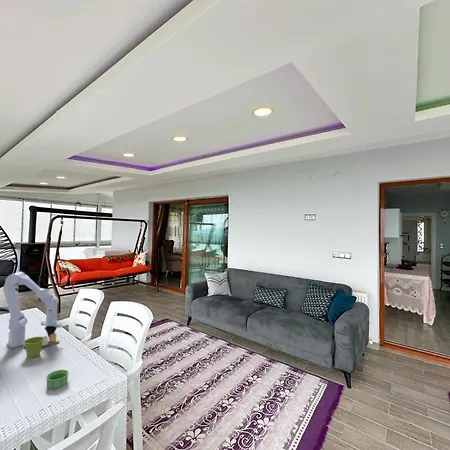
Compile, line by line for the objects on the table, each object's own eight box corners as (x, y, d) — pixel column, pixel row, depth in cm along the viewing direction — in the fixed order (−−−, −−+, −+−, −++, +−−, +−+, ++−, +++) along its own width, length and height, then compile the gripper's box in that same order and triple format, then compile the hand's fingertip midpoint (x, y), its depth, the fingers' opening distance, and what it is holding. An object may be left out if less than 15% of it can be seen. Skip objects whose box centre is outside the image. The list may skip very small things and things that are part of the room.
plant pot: (32, 360, 143) (33, 344, 143) (18, 358, 145) (19, 342, 145) (47, 352, 152) (48, 337, 152) (34, 350, 154) (34, 335, 154)
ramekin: (57, 391, 117) (58, 381, 117) (40, 388, 119) (41, 378, 119) (72, 379, 126) (73, 370, 126) (56, 377, 128) (56, 368, 128)
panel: (23, 347, 158) (23, 344, 158) (51, 338, 171) (51, 336, 171) (30, 352, 152) (30, 348, 152) (59, 342, 165) (59, 339, 165)
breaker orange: (49, 341, 164) (50, 333, 164) (54, 339, 166) (54, 332, 167) (51, 342, 163) (52, 334, 163) (56, 340, 165) (56, 333, 165)
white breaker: (40, 344, 160) (41, 336, 160) (45, 342, 162) (45, 335, 162) (42, 345, 158) (43, 337, 158) (47, 343, 160) (47, 336, 160)
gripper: (36, 316, 165) (35, 338, 164) (55, 319, 161) (54, 341, 161) (46, 313, 171) (46, 334, 171) (64, 315, 168) (64, 337, 168)
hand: (50, 337), depth 166 cm, fingers closed
